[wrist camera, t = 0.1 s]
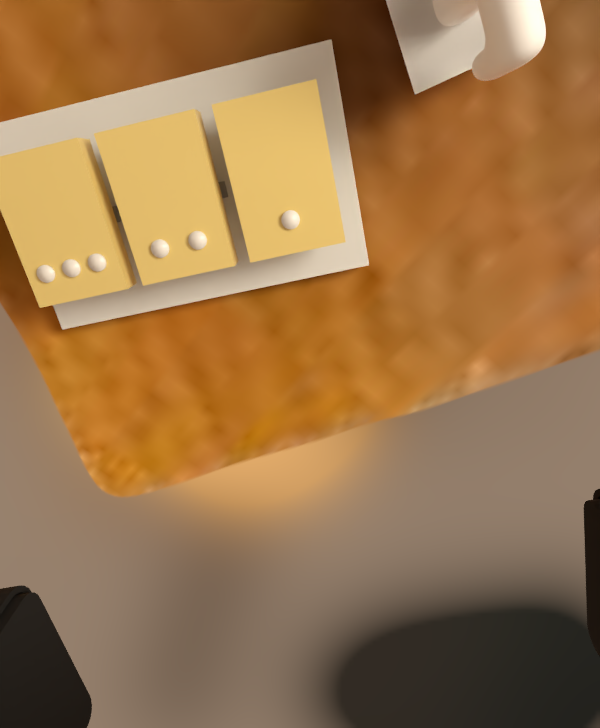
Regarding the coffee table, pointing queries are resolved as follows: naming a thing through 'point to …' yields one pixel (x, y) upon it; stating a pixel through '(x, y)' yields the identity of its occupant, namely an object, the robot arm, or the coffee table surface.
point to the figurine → (466, 37)
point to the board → (200, 96)
